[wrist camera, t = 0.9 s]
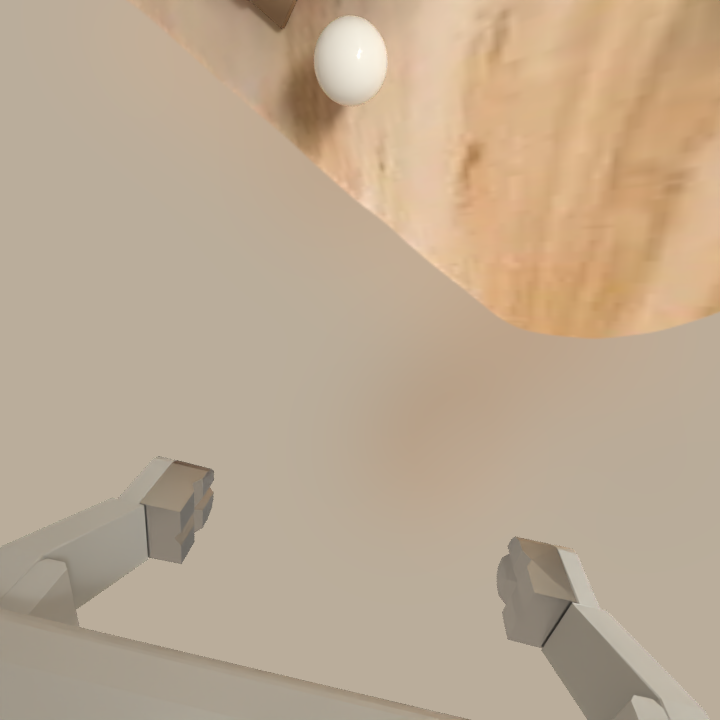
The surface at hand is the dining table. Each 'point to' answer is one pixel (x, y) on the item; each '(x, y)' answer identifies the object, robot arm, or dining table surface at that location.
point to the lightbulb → (350, 60)
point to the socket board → (276, 9)
